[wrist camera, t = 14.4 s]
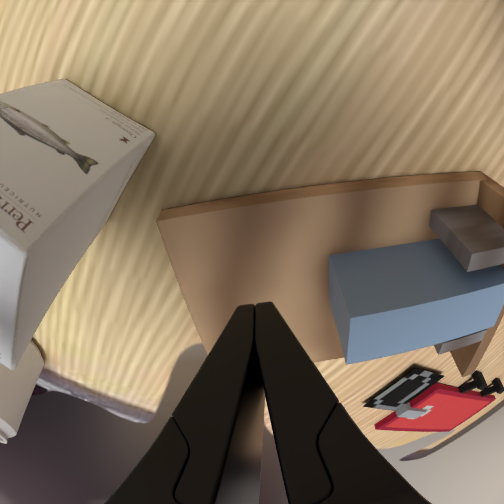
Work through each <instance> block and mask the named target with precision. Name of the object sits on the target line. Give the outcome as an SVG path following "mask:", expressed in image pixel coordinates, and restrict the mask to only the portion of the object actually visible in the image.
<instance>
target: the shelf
mask: <svg viewBox="0 0 504 504" xmlns="http://www.w3.org/2000/svg"><path fill="white" fill-rule="evenodd" d="M156 222H157V225H158V227H159V230H160V233H161V236H162V239H163V242H164V245H165V248H166V250H167V253H168V256H169V259H170V262H171V264H172V267H173V270H174V272H175V275H176V278H177V280H178V283H179V286H180V288H181V291H182V294H183V296H184V299H185V301H186V304H187V306H188V309H189V311H190V314H191V316H192V319H193V321H194V324H195V326H196V329H197V331H198V333H199V336H200V338H201V341H202V343H203V345H204V348H205V350H206V352H207V355H208V354H209V352H210V351H211V349H212V348H213V346H214V344H215V343H216V341H217V339H218V338H219V336H220V334H221V333H222V331H223V329H224V328H225V326H226V324H227V323H228V321H229V319H230V318H231V316H232V314H233V313H234V311H235V309H236V308H237V306H239V305H245V304H254V305H256V304H257V303H261V302H268V301H271V302H273V303H274V305H275V306H276V308H277V309H278V311H279V312H280V314H281V315H282V317H283V318H284V320H285V321H286V323H287V324H288V326H289V327H290V329H291V330H292V332H293V333H294V335H295V336H296V338H297V339H298V341H299V342H300V344H301V345H302V347H303V348H304V350H305V351H306V353H307V354H308V356H309V357H310V358H311V360H312V361H313V362H319V361H325V360H331V359H337V358H343V357H344V354H343V350H342V346H341V343H340V339H339V335H338V331H337V328H336V324H335V320H334V317H333V313H332V310H331V306H330V303H329V255H333V254H340V253H347V252H354V251H360V250H367V249H374V248H381V247H387V246H394V245H400V244H407V243H414V242H420V241H426V240H433V239H439V238H440V239H441V241H442V242H443V243H444V244H445V245H446V246H447V248H448V249H449V250H450V251H451V253H452V254H453V255H454V256H455V258H456V259H457V260H458V261H459V263H460V264H461V265H462V266H463V268H464V269H465V270H466V271H467V272H470V271H474V270H479V269H483V268H487V267H491V266H496V265H501V267H502V268H503V269H504V187H502V186H501V185H499V184H498V183H497V182H495V181H494V180H492V179H491V178H489V177H488V176H487V175H485V174H484V173H482V172H481V171H475V172H456V173H440V174H426V175H413V176H401V177H390V178H379V179H369V180H360V181H351V182H342V183H333V184H325V185H317V186H309V187H301V188H294V189H286V190H279V191H272V192H265V193H259V194H252V195H245V196H239V197H233V198H227V199H221V200H215V201H209V202H203V203H197V204H192V205H186V206H181V207H175V208H170V209H165V210H162V211H161V213H160V215H159V217H158V219H157V221H156ZM503 315H504V305H503V307H502V310H501V312H500V314H499V316H498V319H497V321H496V323H495V325H494V326H493V327H490V328H487V329H484V330H481V331H478V332H475V333H472V334H469V335H466V336H463V337H459V338H456V339H453V340H449V341H446V342H442V343H439V344H435V345H434V346H435V349H436V351H437V353H438V355H439V354H442V353H445V352H449V351H450V352H451V354H452V357H453V359H454V361H455V363H456V365H457V367H458V369H459V371H460V373H461V376H462V377H464V376H467V375H470V374H472V373H473V372H474V371H475V369H476V367H477V366H478V364H479V362H480V360H481V359H482V357H483V355H484V353H485V351H486V349H487V347H488V346H489V344H490V342H491V340H492V338H493V336H494V334H495V332H496V330H497V328H498V326H499V323H500V321H501V319H502V317H503Z"/></svg>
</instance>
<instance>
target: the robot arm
mask: <svg viewBox="0 0 504 504" xmlns="http://www.w3.org/2000/svg"><path fill="white" fill-rule="evenodd" d="M265 397H266V402H267V406H268V411H269V416H270V421H271V425H272V430H273V435H274V439H275V444H276V449H277V453H278V458H279V462H280V467H281V472H282V476H283V481H284V485H285V490H286V494H287V499H288V503H289V504H431V503H430V502H429V501H427V500H426V499H425V498H424V497H423V496H422V495H421V494H419V493H418V492H417V491H416V490H415V489H414V488H413V487H412V486H411V485H410V484H409V483H408V482H407V481H406V480H405V479H404V478H403V477H402V476H401V475H400V473H399V472H398V471H397V470H396V469H395V468H394V467H393V466H392V465H391V464H390V463H389V462H388V461H387V460H386V459H385V458H384V457H383V456H382V455H381V454H380V453H379V452H378V450H377V449H376V448H375V447H374V446H373V445H372V444H371V442H370V441H369V440H368V439H367V438H366V437H365V435H364V434H363V433H362V432H361V430H360V429H359V428H358V426H357V425H356V424H355V422H354V421H353V420H352V418H351V417H350V416H349V414H348V413H347V411H346V410H345V408H344V407H343V405H342V404H341V403H339V400H338V398H337V397H336V395H335V394H334V392H333V391H332V390H331V388H330V387H329V385H328V384H327V382H326V381H325V379H324V378H323V376H322V375H321V373H320V372H319V370H318V369H317V367H316V366H315V364H314V363H313V361H312V360H311V358H310V357H309V356H308V354H307V353H306V351H305V350H304V348H303V347H302V345H301V344H300V342H299V341H298V339H297V338H296V336H295V335H294V333H293V332H292V330H291V329H290V327H289V326H288V324H287V323H286V321H285V320H284V318H283V317H282V315H281V314H280V312H279V311H278V309H277V308H276V306H275V305H274V303H273V302H271V301H268V302H261V303H257V304H256V305H254V304H245V305H239V306H237V308H236V309H235V311H234V313H233V314H232V316H231V318H230V319H229V321H228V323H227V324H226V326H225V328H224V329H223V331H222V333H221V334H220V336H219V338H218V339H217V341H216V343H215V344H214V346H213V348H212V349H211V351H210V352H209V354H208V356H207V357H206V359H205V361H204V362H203V364H202V366H201V367H200V369H199V371H198V372H197V374H196V376H195V377H194V379H193V381H192V382H191V384H190V385H189V387H188V389H187V390H186V392H185V394H184V395H183V397H182V398H181V400H180V402H179V403H178V405H177V407H176V408H175V410H174V411H173V413H172V416H173V417H170V418H169V419H168V421H167V422H166V424H165V426H164V428H163V429H162V431H161V432H160V434H159V435H158V437H157V438H156V440H155V441H154V443H153V444H152V446H151V447H150V448H149V450H148V451H147V452H146V454H145V455H144V456H143V457H142V459H141V460H140V461H139V463H138V464H137V465H136V466H135V468H134V469H133V470H132V471H131V473H130V474H129V475H128V476H127V477H126V478H125V480H124V481H123V482H122V483H121V484H120V486H119V487H118V488H117V489H116V490H115V492H114V493H113V494H112V495H111V496H110V497H109V499H108V500H107V501H106V502H105V503H104V504H258V502H259V487H260V472H261V458H262V442H263V424H264V406H265Z"/></svg>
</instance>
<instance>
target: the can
mask: <svg viewBox="0 0 504 504" xmlns="http://www.w3.org/2000/svg"><path fill="white" fill-rule="evenodd" d="M43 366H44V361H43V358H42V356H41V353H40V350H39V348H38V346H37V345H36V344H35V343H34V342H33V340H32V339H31V340H30V342H29V344H28V346H27V348H26V350H25V352H24V354H23V356H22V358H21V360H20V362H19V364H18V366H17V368H16V369H15V370H11V369H9V368H8V367H6V366H5V365H3V364H2V363H0V442H1V443H7V438H9V437H12V436H16V433H17V431H18V428H19V425H20V422H21V420H22V417H23V414H24V412H25V409H26V407H27V404H28V402H29V399H30V397H31V394H32V392H33V389H34V387H35V385H36V382H37V380H38V378H39V375H40V373H41V371H42V369H43Z"/></svg>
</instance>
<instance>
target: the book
mask: <svg viewBox="0 0 504 504" xmlns="http://www.w3.org/2000/svg"><path fill="white" fill-rule="evenodd" d="M329 303H330V306H331V310H332V313H333V317H334V320H335V324H336V328H337V331H338V335H339V339H340V343H341V346H342V350H343V354H344V358H345V362H346V365H347V364H353V363H358V362H363V361H368V360H373V359H378V358H382V357H387V356H391V355H396V354H400V353H404V352H408V351H412V350H416V349H420V348H424V347H428V346H431V345H435V344H439V343H442V342H446V341H449V340H453V339H456V338H459V337H463V336H466V335H469V334H472V333H475V332H478V331H481V330H484V329H487V328H490V327H493V326H494V325H495V323H496V321H497V319H498V316H499V314H500V312H501V310H502V307H503V305H504V269H503V268H502V267H501V265H496V266H491V267H487V268H483V269H479V270H474V271H470V272H467V271H466V270H465V269H464V268H463V266H462V265H461V264H460V263H459V261H458V260H457V259H456V258H455V256H454V255H453V254H452V253H451V251H450V250H449V249H448V248H447V246H446V245H445V244H444V243H443V242H442V241H441V239H440V238H439V239H433V240H426V241H420V242H414V243H407V244H400V245H394V246H387V247H381V248H374V249H367V250H360V251H354V252H347V253H340V254H333V255H329Z"/></svg>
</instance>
